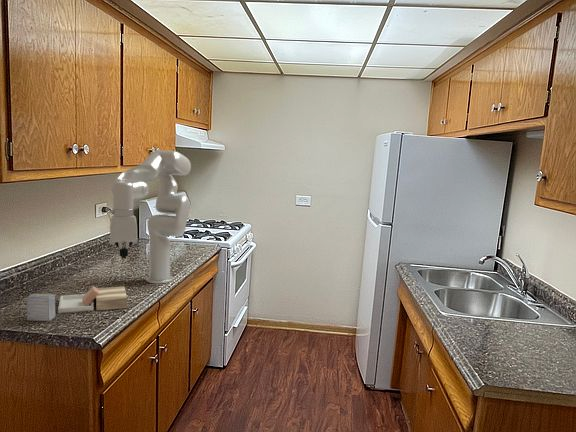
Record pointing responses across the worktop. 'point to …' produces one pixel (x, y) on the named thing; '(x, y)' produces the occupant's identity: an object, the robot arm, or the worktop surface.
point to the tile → (90, 295)
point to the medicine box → (41, 307)
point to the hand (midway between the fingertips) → (123, 257)
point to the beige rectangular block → (111, 298)
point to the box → (74, 304)
